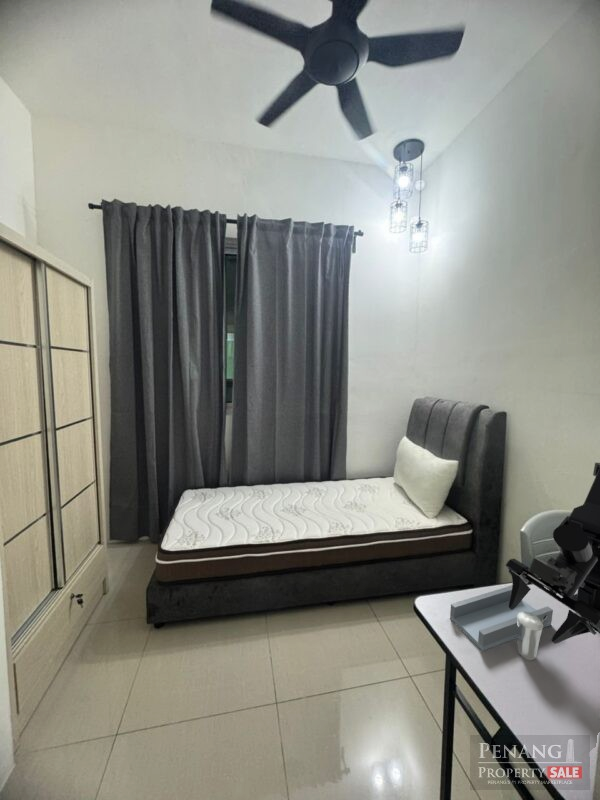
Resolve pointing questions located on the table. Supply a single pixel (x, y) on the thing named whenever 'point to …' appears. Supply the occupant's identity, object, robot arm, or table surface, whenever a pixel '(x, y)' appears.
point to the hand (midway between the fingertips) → (530, 624)
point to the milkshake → (529, 634)
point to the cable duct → (492, 617)
